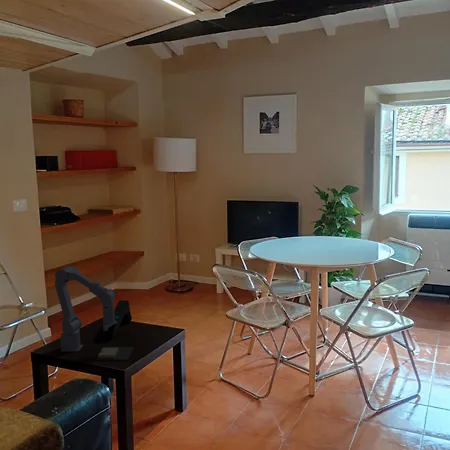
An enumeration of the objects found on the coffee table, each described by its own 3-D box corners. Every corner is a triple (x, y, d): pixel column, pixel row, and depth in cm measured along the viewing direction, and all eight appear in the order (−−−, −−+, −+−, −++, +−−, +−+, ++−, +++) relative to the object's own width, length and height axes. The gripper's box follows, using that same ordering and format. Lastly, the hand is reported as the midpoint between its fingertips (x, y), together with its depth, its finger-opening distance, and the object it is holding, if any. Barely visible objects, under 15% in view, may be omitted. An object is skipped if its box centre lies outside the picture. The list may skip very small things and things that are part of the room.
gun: (133, 317, 294) (129, 297, 288) (117, 350, 268) (112, 329, 262) (122, 317, 295) (118, 297, 288) (106, 350, 269) (101, 329, 263)
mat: (95, 360, 238) (95, 359, 238) (103, 348, 253) (103, 347, 253) (127, 360, 238) (127, 359, 238) (133, 348, 253) (133, 347, 253)
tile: (103, 350, 249) (98, 358, 240) (103, 347, 248) (98, 355, 240) (118, 350, 248) (114, 358, 240) (118, 347, 248) (113, 355, 239)
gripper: (112, 318, 238) (114, 344, 240) (119, 309, 252) (121, 333, 254) (98, 318, 238) (100, 344, 240) (106, 309, 252) (108, 333, 255)
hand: (110, 339), depth 247 cm, fingers closed
